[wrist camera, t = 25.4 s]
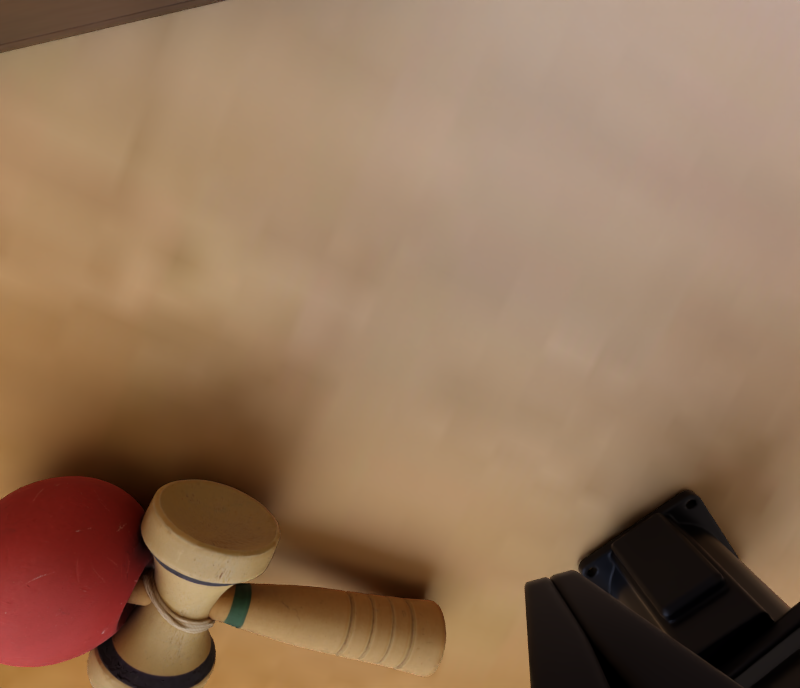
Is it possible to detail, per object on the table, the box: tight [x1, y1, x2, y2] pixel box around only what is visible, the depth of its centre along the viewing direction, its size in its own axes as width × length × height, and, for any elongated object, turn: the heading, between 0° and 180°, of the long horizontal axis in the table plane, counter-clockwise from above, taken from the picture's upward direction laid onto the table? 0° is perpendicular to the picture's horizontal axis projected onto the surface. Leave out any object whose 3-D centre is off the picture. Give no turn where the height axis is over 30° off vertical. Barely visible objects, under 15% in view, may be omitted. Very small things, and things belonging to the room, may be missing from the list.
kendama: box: [0, 476, 446, 688], centre depth 20 cm, size 8×6×18 cm
